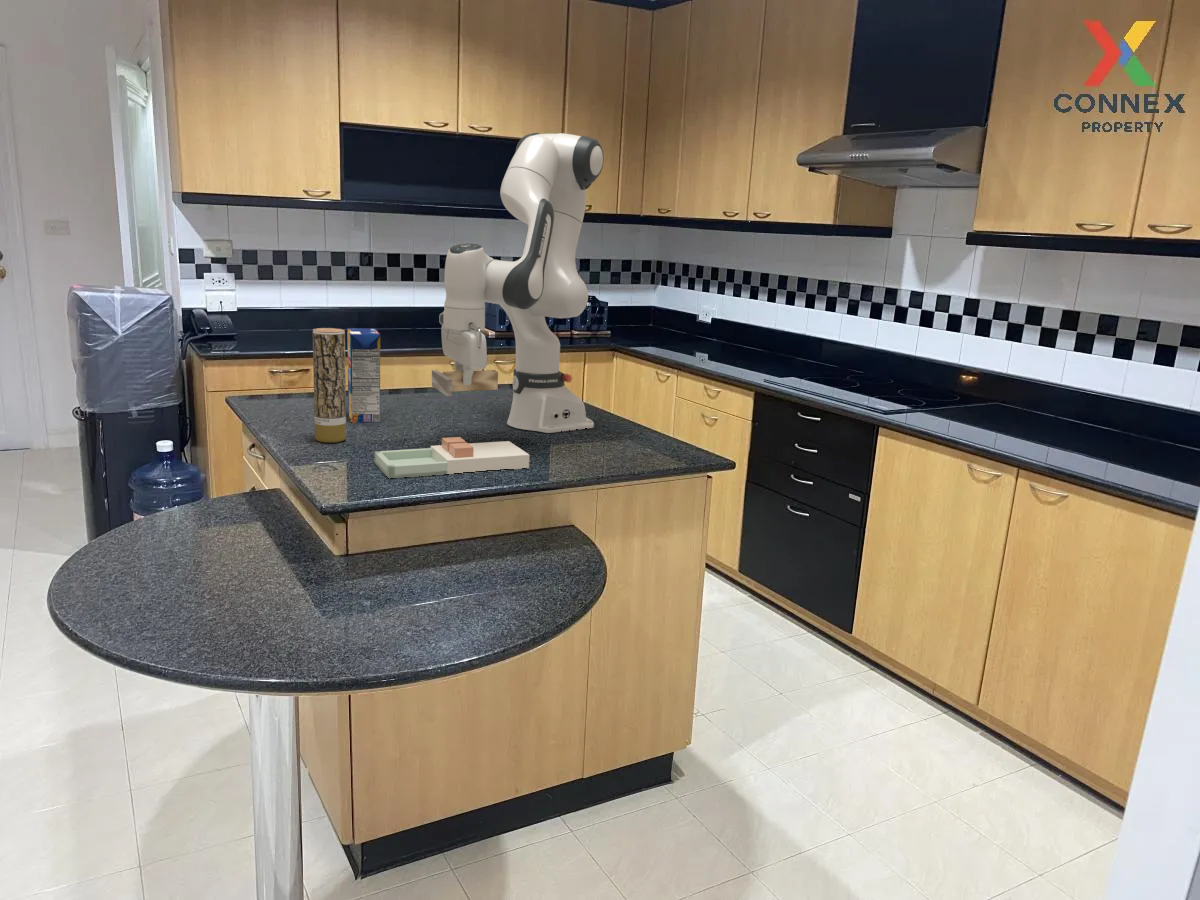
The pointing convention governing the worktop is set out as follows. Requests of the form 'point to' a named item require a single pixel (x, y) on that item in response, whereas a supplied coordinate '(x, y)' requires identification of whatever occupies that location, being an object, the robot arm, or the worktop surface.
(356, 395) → the beverage box
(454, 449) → the tile
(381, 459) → the tray
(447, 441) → the tile
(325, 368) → the paper tube
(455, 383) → the scraper
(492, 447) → the board
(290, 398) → the worktop surface
